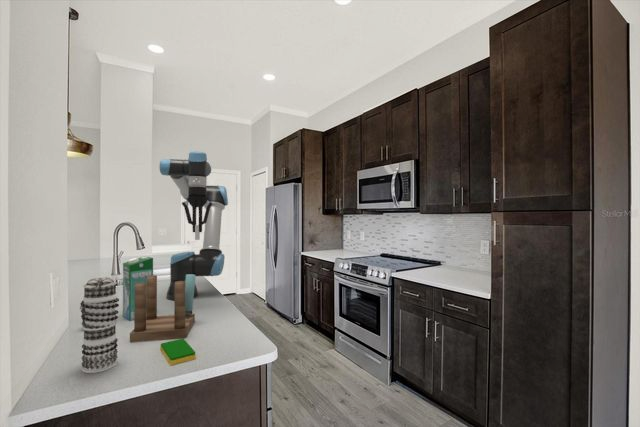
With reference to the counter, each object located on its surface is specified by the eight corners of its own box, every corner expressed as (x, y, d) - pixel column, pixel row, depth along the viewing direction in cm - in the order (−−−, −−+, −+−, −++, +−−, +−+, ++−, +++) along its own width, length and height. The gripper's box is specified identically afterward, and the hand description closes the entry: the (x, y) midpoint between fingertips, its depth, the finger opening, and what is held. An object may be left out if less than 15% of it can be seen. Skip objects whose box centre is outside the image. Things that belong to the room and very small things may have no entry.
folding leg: (183, 308, 129) (186, 274, 129) (193, 308, 129) (196, 274, 130) (181, 311, 125) (185, 275, 125) (191, 311, 126) (194, 276, 126)
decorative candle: (93, 376, 86) (93, 283, 86) (72, 369, 89) (73, 280, 89) (125, 362, 94) (126, 277, 94) (105, 356, 98) (106, 275, 98)
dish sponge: (183, 345, 107) (183, 338, 107) (195, 360, 97) (195, 352, 97) (160, 350, 103) (160, 343, 103) (170, 367, 92) (170, 358, 92)
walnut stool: (147, 323, 127) (147, 275, 127) (195, 320, 131) (195, 273, 131) (129, 342, 109) (130, 285, 109) (185, 337, 113) (186, 283, 113)
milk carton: (122, 315, 136) (122, 257, 136) (145, 311, 143) (145, 255, 143) (129, 320, 130) (129, 259, 130) (153, 315, 137) (153, 257, 137)
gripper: (180, 185, 137) (179, 240, 137) (211, 186, 139) (211, 240, 139) (183, 187, 144) (183, 239, 144) (213, 187, 147) (213, 238, 147)
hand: (197, 239), depth 142 cm, fingers closed
